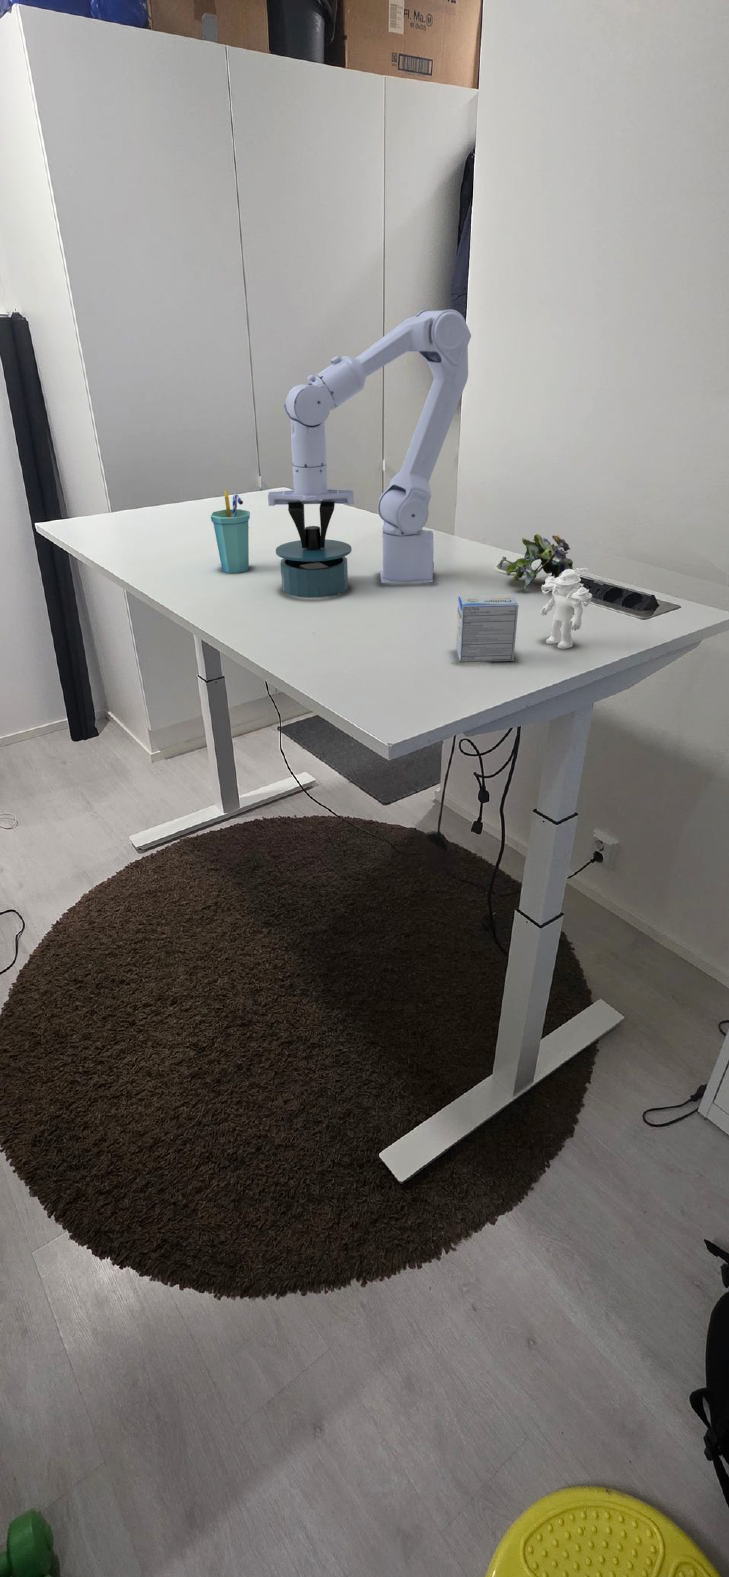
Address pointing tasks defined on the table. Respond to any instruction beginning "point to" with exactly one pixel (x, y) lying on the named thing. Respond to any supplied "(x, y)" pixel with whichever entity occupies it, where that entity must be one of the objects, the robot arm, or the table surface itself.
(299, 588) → the pot
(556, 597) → the hat wearing toy figure
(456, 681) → the table surface
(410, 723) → the table surface
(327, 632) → the table surface
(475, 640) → the medicine box
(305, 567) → the block
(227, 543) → the cup
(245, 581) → the table surface
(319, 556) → the lid
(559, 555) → the passion flower
